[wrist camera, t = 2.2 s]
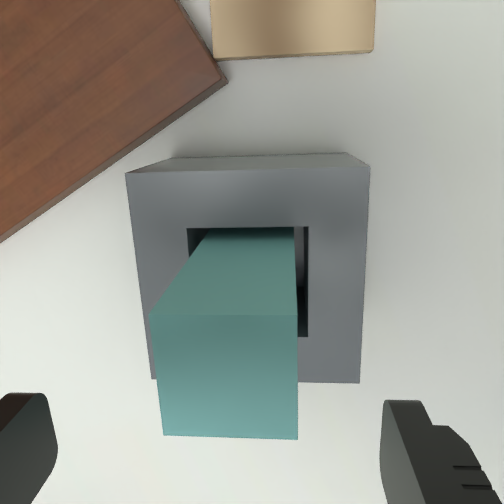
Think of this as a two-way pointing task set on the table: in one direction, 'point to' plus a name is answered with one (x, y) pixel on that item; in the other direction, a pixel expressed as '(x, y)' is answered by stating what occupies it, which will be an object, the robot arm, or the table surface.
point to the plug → (230, 338)
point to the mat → (291, 28)
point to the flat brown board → (88, 91)
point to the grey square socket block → (266, 215)
